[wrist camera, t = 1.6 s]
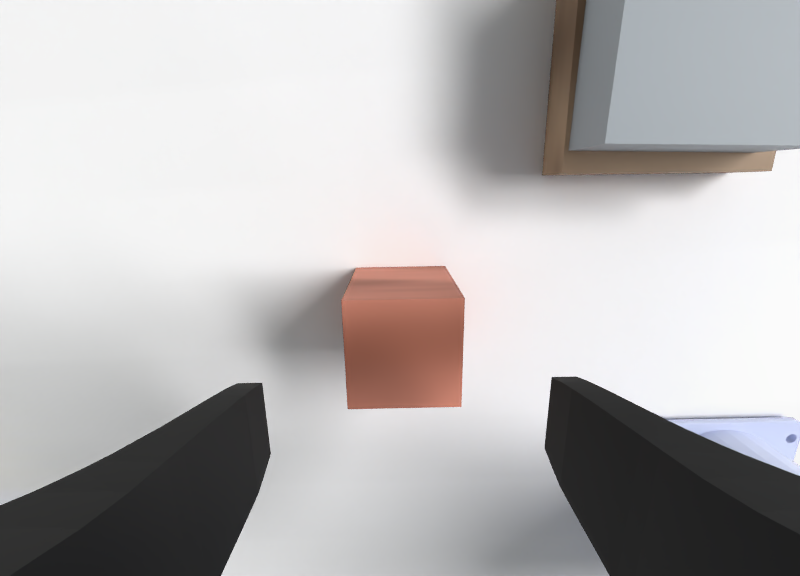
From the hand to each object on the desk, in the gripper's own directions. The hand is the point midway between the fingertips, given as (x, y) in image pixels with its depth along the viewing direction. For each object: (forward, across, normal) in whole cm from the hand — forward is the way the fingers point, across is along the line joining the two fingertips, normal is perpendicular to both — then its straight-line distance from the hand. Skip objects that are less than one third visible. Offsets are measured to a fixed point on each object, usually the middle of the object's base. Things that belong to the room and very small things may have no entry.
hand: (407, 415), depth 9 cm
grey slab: (+6, -10, -10) cm, 16 cm away
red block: (+8, 0, 0) cm, 8 cm away
